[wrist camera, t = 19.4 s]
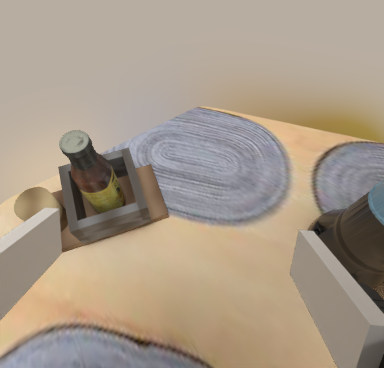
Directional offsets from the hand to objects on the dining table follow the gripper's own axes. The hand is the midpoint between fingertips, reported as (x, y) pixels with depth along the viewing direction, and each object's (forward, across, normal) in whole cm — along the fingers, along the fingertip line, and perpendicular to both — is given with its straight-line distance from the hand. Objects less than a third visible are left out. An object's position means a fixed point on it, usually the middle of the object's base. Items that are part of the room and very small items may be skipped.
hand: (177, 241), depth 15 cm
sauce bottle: (+37, -16, -14) cm, 43 cm away
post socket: (+38, -17, -15) cm, 45 cm away
